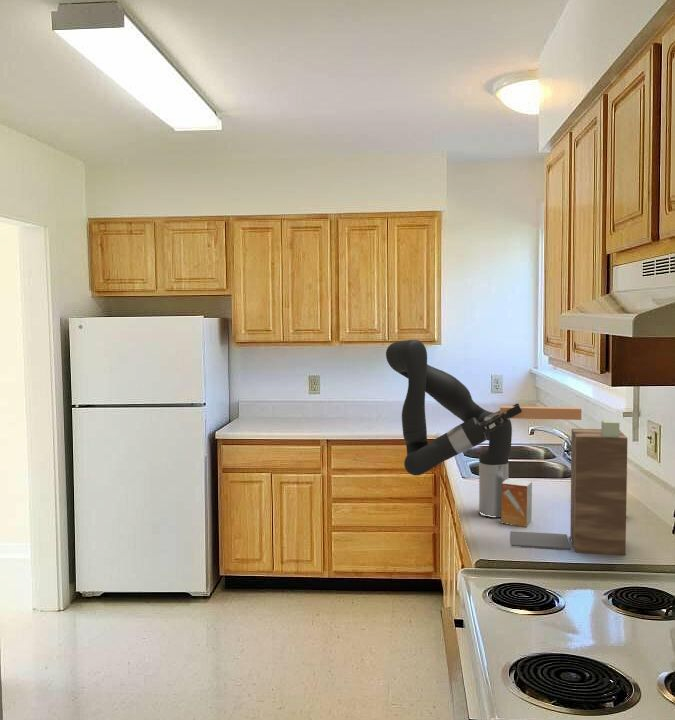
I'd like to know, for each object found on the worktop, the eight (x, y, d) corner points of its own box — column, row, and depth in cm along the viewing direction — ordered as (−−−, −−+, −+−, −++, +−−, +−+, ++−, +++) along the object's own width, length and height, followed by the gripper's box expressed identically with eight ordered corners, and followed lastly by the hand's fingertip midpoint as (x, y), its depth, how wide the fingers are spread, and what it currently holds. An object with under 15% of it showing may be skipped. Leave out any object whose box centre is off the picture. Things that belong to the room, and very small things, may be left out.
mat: (510, 533, 213) (510, 531, 213) (566, 536, 209) (566, 534, 209) (511, 546, 201) (511, 544, 201) (570, 550, 198) (570, 547, 197)
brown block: (500, 416, 206) (500, 406, 205) (580, 418, 201) (580, 407, 201) (500, 418, 203) (500, 407, 203) (581, 419, 198) (581, 409, 198)
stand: (570, 536, 208) (571, 428, 206) (617, 539, 206) (619, 429, 203) (575, 552, 196) (576, 436, 193) (625, 555, 193) (627, 438, 191)
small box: (500, 524, 222) (501, 482, 221) (506, 518, 227) (506, 478, 226) (527, 527, 218) (527, 485, 217) (532, 522, 223) (532, 481, 222)
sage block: (601, 434, 196) (601, 420, 196) (616, 434, 195) (617, 420, 195) (603, 437, 192) (603, 422, 192) (619, 437, 191) (619, 422, 191)
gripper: (458, 428, 200) (514, 399, 196) (461, 420, 214) (512, 392, 210) (472, 452, 200) (528, 422, 196) (473, 442, 213) (525, 414, 210)
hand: (519, 407), depth 203 cm, fingers closed on brown block, 3 cm apart
